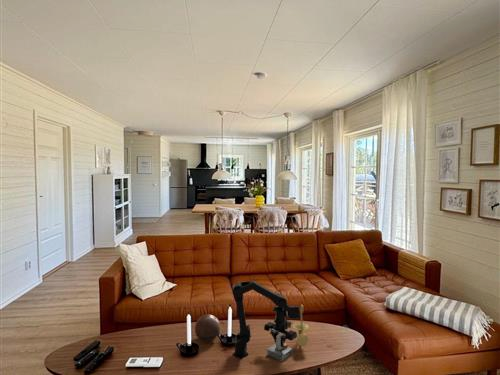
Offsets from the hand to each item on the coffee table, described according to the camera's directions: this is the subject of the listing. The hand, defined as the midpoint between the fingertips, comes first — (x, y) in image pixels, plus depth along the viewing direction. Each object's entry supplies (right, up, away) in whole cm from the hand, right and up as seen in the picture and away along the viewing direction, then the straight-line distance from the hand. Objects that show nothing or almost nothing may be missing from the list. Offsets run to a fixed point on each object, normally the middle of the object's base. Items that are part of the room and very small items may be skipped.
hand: (279, 345), depth 173 cm
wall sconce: (+13, -5, +10) cm, 17 cm away
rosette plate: (0, -5, 0) cm, 5 cm away
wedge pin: (0, -2, 0) cm, 2 cm away
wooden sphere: (-42, -4, +13) cm, 45 cm away
